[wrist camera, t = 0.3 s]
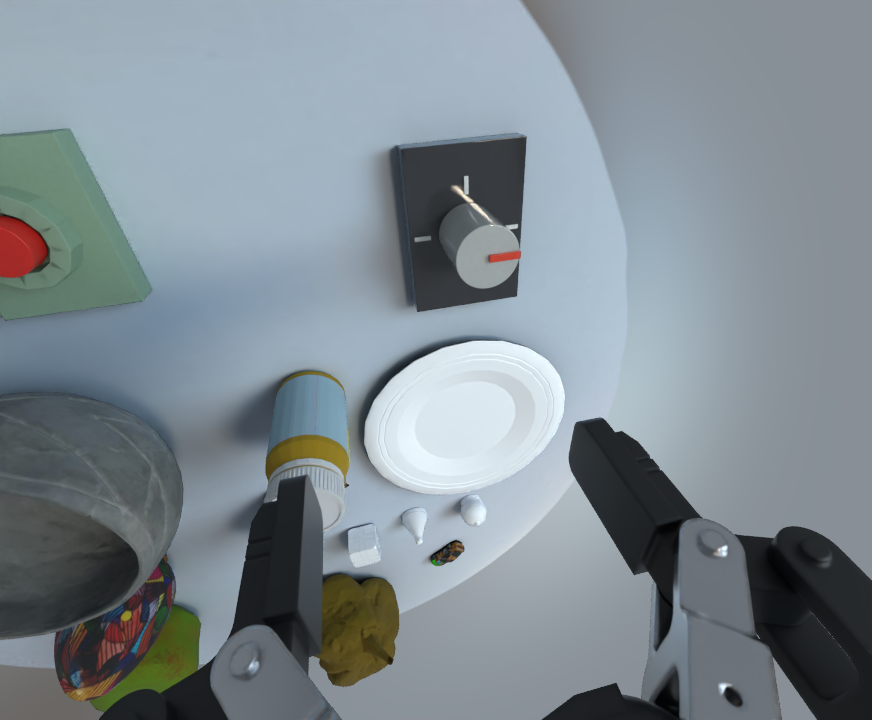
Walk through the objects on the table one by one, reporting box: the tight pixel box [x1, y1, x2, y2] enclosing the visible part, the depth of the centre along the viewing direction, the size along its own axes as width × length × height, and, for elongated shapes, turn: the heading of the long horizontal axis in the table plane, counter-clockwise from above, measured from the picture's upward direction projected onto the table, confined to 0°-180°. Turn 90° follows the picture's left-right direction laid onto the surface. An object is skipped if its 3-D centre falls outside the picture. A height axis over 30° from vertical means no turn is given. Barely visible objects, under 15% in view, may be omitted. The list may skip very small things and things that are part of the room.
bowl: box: [0, 392, 183, 640], centre depth 35 cm, size 21×21×15 cm
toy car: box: [431, 540, 464, 566], centre depth 67 cm, size 3×6×2 cm, turn 131°
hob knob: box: [439, 203, 521, 289], centre depth 33 cm, size 5×5×6 cm
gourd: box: [315, 574, 399, 687], centre depth 63 cm, size 14×14×14 cm
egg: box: [54, 555, 176, 701], centre depth 48 cm, size 11×11×15 cm
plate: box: [364, 340, 565, 495], centre depth 51 cm, size 25×25×2 cm
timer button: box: [0, 216, 47, 278], centre depth 27 cm, size 4×4×2 cm
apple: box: [89, 605, 201, 712], centre depth 57 cm, size 12×12×11 cm
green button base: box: [0, 129, 152, 320], centre depth 29 cm, size 12×10×4 cm
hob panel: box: [397, 133, 527, 312], centre depth 36 cm, size 14×10×2 cm
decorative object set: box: [348, 495, 487, 568], centre depth 59 cm, size 5×20×4 cm, turn 96°
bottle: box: [265, 371, 349, 533], centre depth 38 cm, size 7×7×15 cm
